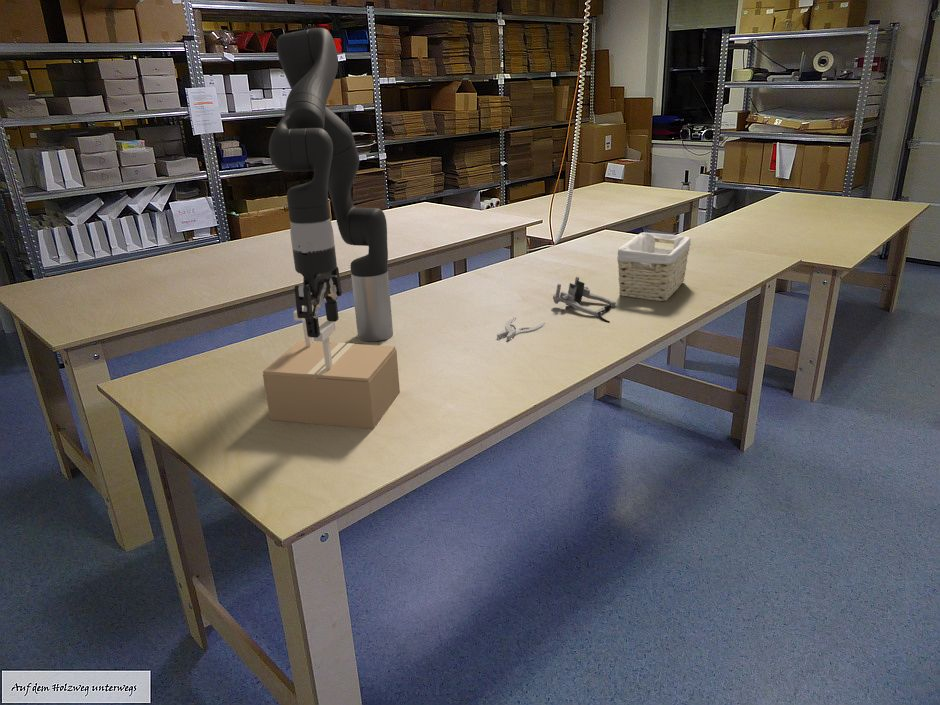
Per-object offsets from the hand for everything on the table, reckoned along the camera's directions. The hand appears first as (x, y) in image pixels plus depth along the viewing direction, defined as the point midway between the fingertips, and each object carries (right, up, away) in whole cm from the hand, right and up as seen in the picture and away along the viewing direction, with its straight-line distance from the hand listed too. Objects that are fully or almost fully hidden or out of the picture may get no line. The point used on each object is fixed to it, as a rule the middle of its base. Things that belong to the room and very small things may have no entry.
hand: (323, 328), depth 126 cm
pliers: (+40, +1, +48) cm, 63 cm away
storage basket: (+83, +15, +76) cm, 114 cm away
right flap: (+5, -7, +7) cm, 11 cm away
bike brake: (+62, +8, +62) cm, 88 cm away
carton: (0, -16, +12) cm, 20 cm away
